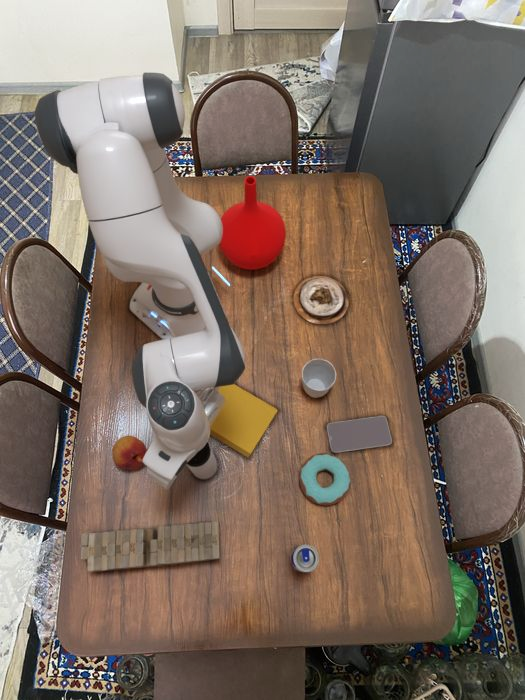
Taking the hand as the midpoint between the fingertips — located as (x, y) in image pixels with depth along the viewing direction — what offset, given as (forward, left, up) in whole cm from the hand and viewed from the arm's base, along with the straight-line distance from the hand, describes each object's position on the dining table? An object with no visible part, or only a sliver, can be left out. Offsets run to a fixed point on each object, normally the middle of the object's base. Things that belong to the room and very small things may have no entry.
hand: (193, 445), depth 104 cm
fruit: (-16, -7, -22) cm, 28 cm away
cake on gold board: (+2, +54, -22) cm, 58 cm away
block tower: (+1, -21, -22) cm, 30 cm away
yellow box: (0, +14, -22) cm, 26 cm away
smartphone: (+28, +26, -22) cm, 44 cm away
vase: (-22, +57, -22) cm, 65 cm away
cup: (+13, +31, -22) cm, 40 cm away
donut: (+26, +12, -22) cm, 36 cm away
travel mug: (0, 0, -22) cm, 22 cm away
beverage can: (+30, -6, -22) cm, 38 cm away
